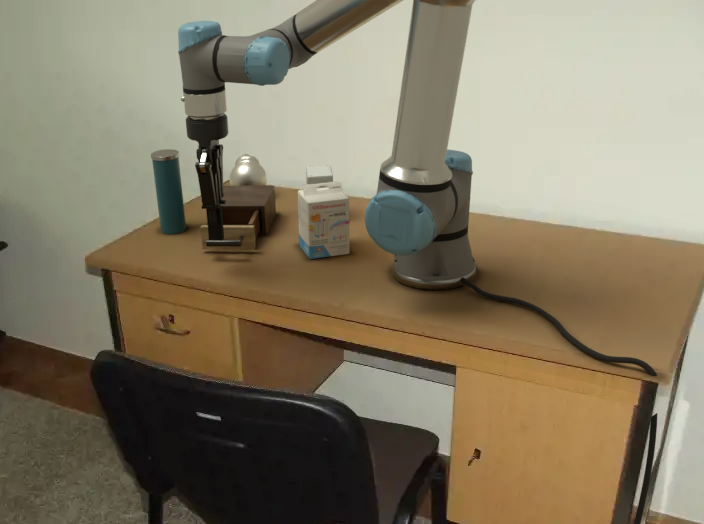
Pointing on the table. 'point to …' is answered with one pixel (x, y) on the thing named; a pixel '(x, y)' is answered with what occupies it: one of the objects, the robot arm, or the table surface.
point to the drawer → (235, 230)
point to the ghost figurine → (248, 172)
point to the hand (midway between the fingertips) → (216, 239)
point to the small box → (319, 175)
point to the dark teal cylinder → (169, 191)
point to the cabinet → (252, 202)
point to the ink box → (323, 220)
